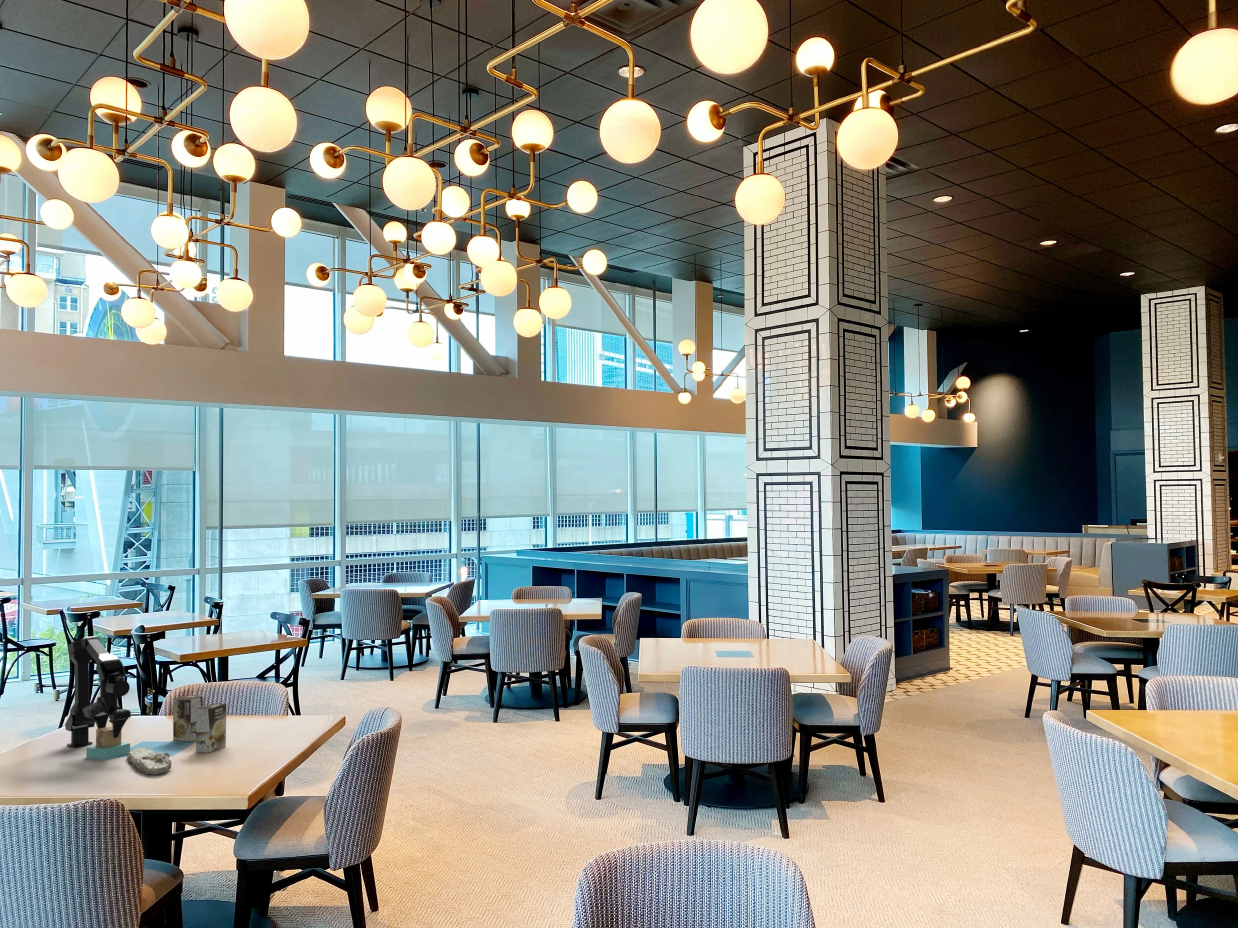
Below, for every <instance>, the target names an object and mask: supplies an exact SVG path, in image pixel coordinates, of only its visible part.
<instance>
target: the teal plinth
mask: <svg viewBox="0 0 1238 928" xmlns="http://www.w3.org/2000/svg"><path fill="white" fill-rule="evenodd" d="M85 750H86V752H85V753H86V756H85V757H86V758H87V759H88V758H89V759H93V760H100V761H106V760H111V759H114V758H117V757H122V756H125V755H128V753H129V752H130V751H131V743H130V742H123V741H121V745H116V746H112V747H107V748H102V747H98V746H96V744H95V745H92V746H88V747H87V746H86V748H85ZM124 754H125V755H124ZM121 755H122V756H121Z"/></svg>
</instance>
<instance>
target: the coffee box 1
mask: <svg viewBox="0 0 1238 928" xmlns="http://www.w3.org/2000/svg"><path fill="white" fill-rule="evenodd" d="M203 699H204V698H203V696H197V695H183V696H179V697H177V698H173V699H172V726H173V727H172V728H173V729H172V732H173V733H172V740H173V741H176V740H180V742H195V741H196V717H197V708H199V707H202V706H204V704H203V703H204V701H203Z"/></svg>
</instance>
